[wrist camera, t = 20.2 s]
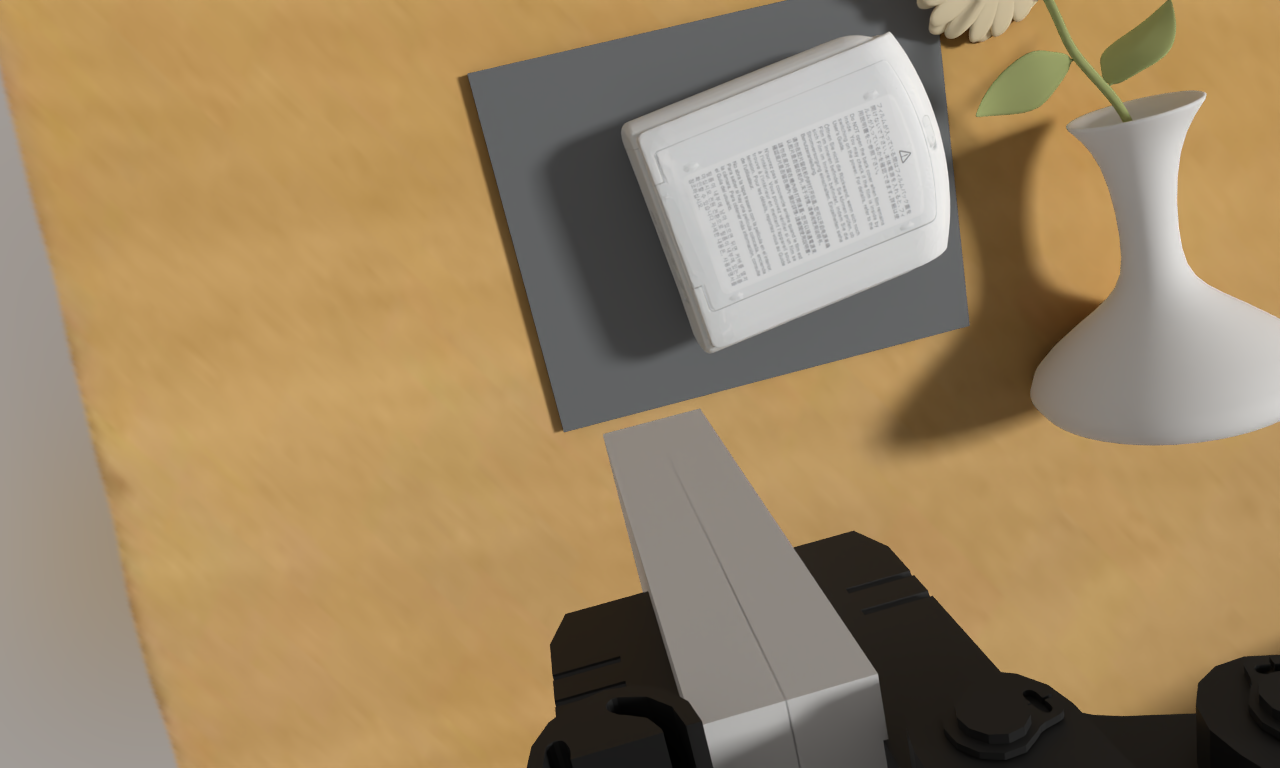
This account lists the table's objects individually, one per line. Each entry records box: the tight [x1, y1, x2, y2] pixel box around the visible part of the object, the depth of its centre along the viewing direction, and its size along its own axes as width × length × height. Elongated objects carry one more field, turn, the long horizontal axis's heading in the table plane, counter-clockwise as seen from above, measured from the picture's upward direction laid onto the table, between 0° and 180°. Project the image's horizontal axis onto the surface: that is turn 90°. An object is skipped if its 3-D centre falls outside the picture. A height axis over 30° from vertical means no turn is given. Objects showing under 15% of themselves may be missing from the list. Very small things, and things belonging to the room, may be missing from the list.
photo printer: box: [621, 32, 950, 353], centre depth 36 cm, size 10×4×12 cm
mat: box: [468, 0, 970, 432], centre depth 39 cm, size 20×16×1 cm
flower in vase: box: [917, 0, 1280, 445], centre depth 36 cm, size 13×11×25 cm
